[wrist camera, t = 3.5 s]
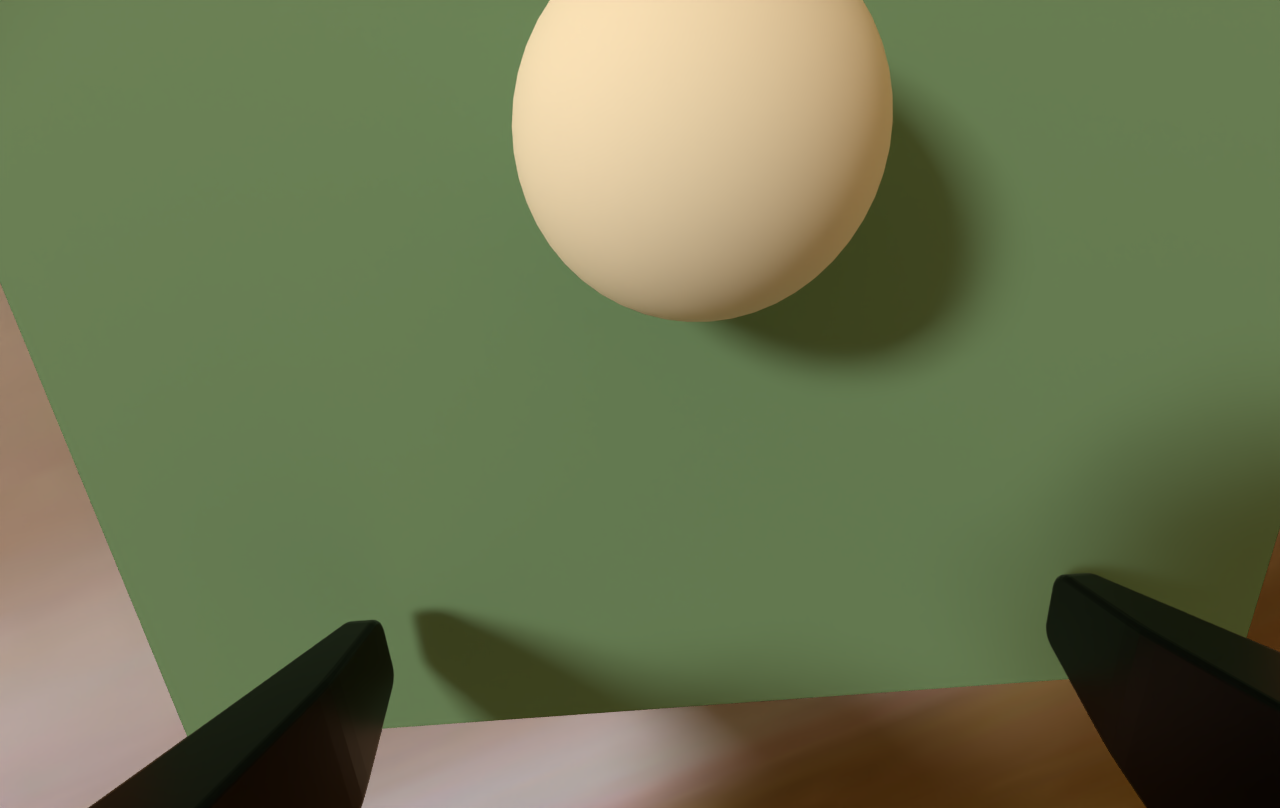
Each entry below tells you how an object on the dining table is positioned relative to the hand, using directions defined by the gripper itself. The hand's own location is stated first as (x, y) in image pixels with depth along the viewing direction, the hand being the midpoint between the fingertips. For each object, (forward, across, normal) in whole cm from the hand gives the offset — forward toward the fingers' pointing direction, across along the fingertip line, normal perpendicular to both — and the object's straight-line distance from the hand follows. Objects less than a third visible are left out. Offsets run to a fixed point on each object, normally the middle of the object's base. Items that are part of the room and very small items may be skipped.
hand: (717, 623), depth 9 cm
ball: (-1, 0, -6) cm, 6 cm away
